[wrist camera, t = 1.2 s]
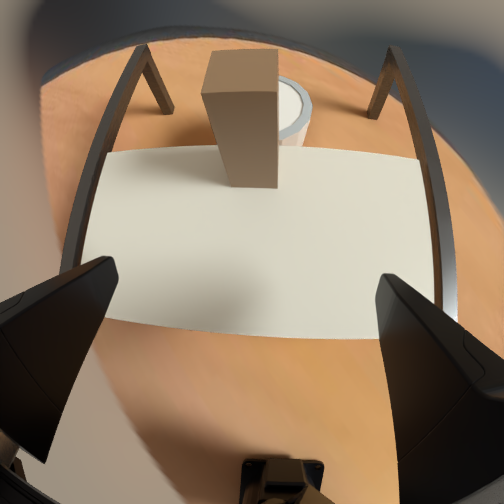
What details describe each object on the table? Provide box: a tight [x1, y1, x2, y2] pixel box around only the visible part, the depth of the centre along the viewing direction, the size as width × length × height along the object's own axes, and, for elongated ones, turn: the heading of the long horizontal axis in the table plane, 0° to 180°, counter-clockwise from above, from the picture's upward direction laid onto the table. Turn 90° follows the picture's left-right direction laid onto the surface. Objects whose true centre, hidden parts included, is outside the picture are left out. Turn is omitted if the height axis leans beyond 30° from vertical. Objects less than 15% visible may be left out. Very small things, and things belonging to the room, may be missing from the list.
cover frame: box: [59, 44, 457, 322], centre depth 20 cm, size 22×22×9 cm
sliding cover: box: [81, 49, 434, 339], centre depth 11 cm, size 10×19×8 cm, turn 86°
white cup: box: [279, 76, 313, 147], centre depth 22 cm, size 7×7×7 cm
